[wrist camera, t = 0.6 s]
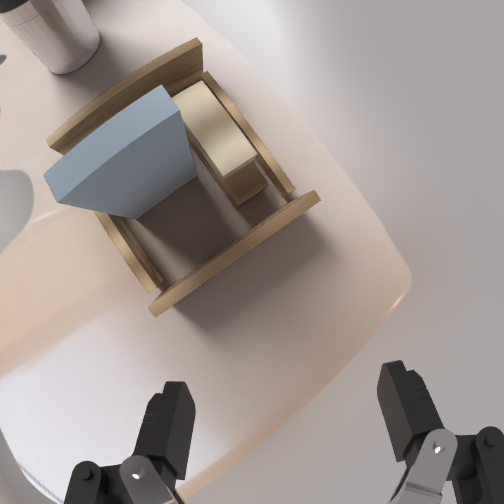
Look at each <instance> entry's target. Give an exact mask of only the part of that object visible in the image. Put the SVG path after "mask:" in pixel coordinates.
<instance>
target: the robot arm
mask: <svg viewBox="0 0 504 504" xmlns="http://www.w3.org/2000/svg"><path fill="white" fill-rule="evenodd" d="M0 18H1V19H2V20H3V21H4V22H5V23H6V24H7V25H8V26H9V27H10V28H11V29H12V31H13V32H14V33H15V34H16V35H17V36H18V37H19V38H20V39H21V40H22V41H23V42H24V43H25V45H26V46H27V47H28V48H29V49H30V50H31V51H32V52H33V53H34V54H35V55H36V56H37V57H38V58H39V60H40V61H41V62H42V63H43V64H44V65H45V66H46V67H47V68H48V69H49V70H50V71H51V72H53V73H55V74H66V73H70V72H72V71H74V70H76V69H78V68H80V67H81V66H83V65H84V64H85V63H86V62H88V60H89V59H90V58H91V57H92V56H93V55H94V53H95V52H96V50H97V48H98V46H99V42H100V36H99V33H98V31H97V29H96V27H95V25H94V23H93V21H92V19H91V17H90V15H89V14H88V12H87V10H86V8H85V6H84V4H83V2H82V0H0ZM377 395H378V400H379V403H380V406H381V410H382V413H383V416H384V419H385V423H386V426H387V430H388V432H389V436H390V440H391V443H392V446H393V450H394V454H395V457H396V461H397V462H400V461H404V460H405V462H406V466H407V467H406V469H405V471H404V473H403V475H402V477H401V479H400V481H399V483H398V485H397V487H396V489H395V490H394V492H393V494H392V496H391V498H390V500H389V501H388V503H387V504H440V502H441V499H442V494H441V491H442V488H443V485H444V483H445V481H450V480H452V484H453V488H454V492H455V496H456V501H457V504H504V435H503V433H502V432H501V430H499V429H498V428H496V427H486V428H483V429H482V430H481V431H480V432H479V433H478V434H477V435H463V436H459V435H454V434H453V433H452V432H451V431H449V430H446V429H445V428H444V426H443V424H442V422H441V419H440V417H439V415H438V412H437V410H436V408H435V405H434V403H433V401H432V399H431V397H430V394H429V392H428V390H427V389H426V385H425V383H424V381H423V379H422V377H420V375H418V374H417V373H416V372H415V371H414V370H410V371H406V368H405V366H404V364H403V362H402V361H401V360H398V361H393V362H388V363H384V364H383V365H382V369H381V373H380V377H379V381H378V386H377ZM195 413H196V410H195V404H194V401H193V399H192V396H191V394H190V392H189V389H188V387H187V385H186V383H185V382H175V381H167V382H166V383H165V386H164V389H163V393H162V394H161V393H156V394H155V395H154V396H153V397H152V398H151V400H150V401H149V402H148V405H147V408H146V412H145V415H144V418H143V423H142V425H141V428H140V432H139V435H138V439H137V442H136V446H135V449H134V452H133V454H132V456H131V457H129V458H127V459H126V460H124V461H123V463H122V464H119V465H113V466H104V467H99V466H98V465H97V464H95V463H94V462H91V461H83V462H81V463H79V464H77V465H76V466H75V468H74V469H73V472H72V475H71V479H70V482H69V486H68V489H67V493H66V497H65V501H64V504H185V502H184V500H183V499H182V497H181V496H180V494H179V493H178V491H177V490H176V488H175V483H176V479H178V480H185V475H186V468H187V462H188V456H189V450H190V444H191V438H192V432H193V426H194V420H195Z"/></svg>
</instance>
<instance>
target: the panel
mask: <svg viewBox="0 0 504 504" xmlns="http://www.w3.org/2000/svg"><path fill="white" fill-rule="evenodd" d="M43 175H44V178H45V180H46V182H47V184H48V185H49V187H50V189H51V191H52V193H53V195H54V197H55V199H56V201H57V203H61V204H66V205H71V206H75V207H80V208H84V209H89V210H94V211H98V212H103V213H108V214H112V215H117V216H121V217H126V218H130V219H135V220H137V219H138V218H139V217H141V216H142V215H143V214H145V213H146V212H147V211H149V210H150V209H151V208H153V207H154V206H155V205H157V204H158V203H160V202H161V201H162V200H164V199H165V198H166V197H168V196H169V195H171V194H172V193H173V192H175V191H176V190H178V189H179V188H181V187H182V186H183V185H185V184H186V183H188V182H189V181H191V180H192V179H193V178H195V177H196V176H197V173H196V169H195V165H194V162H193V158H192V154H191V150H190V147H189V143H188V139H187V135H186V131H185V127H184V123H183V120H182V116H181V112H180V109H179V108H178V106H177V105H176V104H175V102H174V101H173V100H172V98H171V97H170V95H169V94H168V93H167V91H166V90H165V89H164V87H163V86H162V85H160V86H158V87H156V88H155V89H153V90H152V91H150V92H149V93H147V94H145V95H144V96H142V97H141V98H139V99H138V100H136V101H135V102H133V103H132V104H130V105H129V106H127V107H126V108H125V109H123V110H122V111H120V112H119V113H117V114H116V115H115V116H113V117H112V118H111V119H109V120H108V121H107V122H105V123H104V124H103V125H101V126H100V127H99V128H97V129H96V130H95V131H93V132H92V133H91V134H90V135H88V136H87V137H86V138H85V139H83V140H82V141H81V142H80V143H78V144H77V145H76V146H75V147H74V148H72V149H71V150H70V151H69V152H68V153H67V154H65V155H64V156H63V157H62V158H61V159H60V160H59V161H58V162H56V163H55V164H54V165H53V166H52V167H51V168H50V169H49V170H48V171H47V172H45V173H44V174H43Z"/></svg>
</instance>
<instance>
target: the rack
mask: <svg viewBox="0 0 504 504" xmlns="http://www.w3.org/2000/svg"><path fill="white" fill-rule="evenodd" d="M199 79H201V80H202V81H203V82H204V84H205V85H206V86H207V87H208V89H209V90H210V91H211V93H212V94H213V95H214V96H215V98H216V99H217V100H218V102H219V103H220V104H221V105H222V107H223V108H224V109H225V111H226V112H227V113H228V115H229V116H230V117H231V119H232V120H233V121H234V123H235V124H236V125H237V127H238V128H239V129H240V131H241V132H242V133H243V135H244V136H245V137H246V139H247V140H248V141H249V143H250V144H251V145H252V147H253V148H254V150H255V151H256V152H257V156H256V160H257V161H258V163H259V164H260V165H261V167H262V168H263V170H264V171H265V172H266V174H267V175H268V177H269V178H270V179H271V181H272V182H273V184H274V185H275V187H276V188H277V190H278V191H279V192H280V194H281V195H282V197H283V196H285V195H287V194H289V193H290V192H292V191H293V190H295V188H294V186H293V185H292V183H291V182H290V180H289V179H288V177H287V176H286V175H285V173H284V172H283V170H282V169H281V167H280V166H279V165H278V163H277V162H276V160H275V159H274V158H273V156H272V155H271V153H270V152H269V151H268V149H267V148H266V146H265V145H264V144H263V142H262V141H261V140H260V138H259V137H258V136H257V134H256V133H255V132H254V130H253V129H252V127H251V126H250V125H249V123H248V122H247V121H246V120H245V118H244V117H243V116H242V114H241V113H240V112H239V110H238V109H237V108H236V106H235V105H234V104H233V103H232V101H231V100H230V99H229V97H228V96H227V95H226V94H225V92H224V91H223V90H222V89H221V87H220V86H219V85H218V84H217V82H216V81H215V80H214V79H213V77H212V76H211V75H210V74H209V72H208V71H206V72H204V73H203V55H202V43H201V42H200V41H199V40H198V38H197V37H196V38H194V39H192V40H190V41H188V42H186V43H184V44H182V45H180V46H178V47H176V48H175V49H173V50H171V51H169V52H167V53H165V54H164V55H162V56H160V57H158V58H157V59H155V60H153V61H152V62H150V63H148V64H147V65H145V66H143V67H142V68H140V69H138V70H137V71H135V72H134V73H132V74H130V75H129V76H127V77H126V78H124V79H123V80H121V81H120V82H118V83H117V84H115V85H114V86H113V87H111V88H110V89H108V90H107V91H105V92H104V93H103V94H101V95H100V96H98V97H97V98H96V99H94V100H93V101H92V102H90V103H89V104H88V105H86V106H85V107H84V108H83V109H81V110H80V111H79V112H77V113H76V114H75V115H74V116H72V117H71V118H70V119H69V120H68V121H66V122H65V123H64V124H63V125H62V126H60V127H59V128H58V129H57V130H56V131H55V132H54V133H52V134H51V135H50V136H49V137H48V138H47V139H46V141H47V143H48V145H49V147H50V148H52V149H53V150H55V151H57V152H59V153H61V154H63V155H65V154H67V153H68V152H69V151H70V150H71V149H72V148H74V147H75V146H76V145H77V144H78V143H80V142H81V141H82V140H83V139H85V138H86V137H87V136H88V135H90V134H91V133H92V132H93V131H95V130H96V129H97V128H99V127H100V126H101V125H103V124H104V123H105V122H107V121H108V120H109V119H111V118H112V117H113V116H115V115H116V114H117V113H119V112H120V111H122V110H123V109H125V108H126V107H127V106H129V105H130V104H132V103H133V102H135V101H136V100H138V99H139V98H141V97H142V96H144V95H145V94H147V93H149V92H150V91H152V90H153V89H155V88H156V87H158V86H160V85H162V86H163V87H164V89H165V90H166V91H167V93H168V94H169V95H170V96H171V95H173V94H175V93H176V92H178V91H180V90H181V89H183V88H185V87H187V86H188V85H190V84H192V83H193V82H195V81H197V80H199ZM319 201H321V199H320V198H319V196H318V195H317V193H316V192H315V190H313V191H311V192H309V193H306V194H304V195H302V196H300V197H298V198H295V199H293V200H292V201H291V202H289V203H288V204H286V205H285V206H283V207H282V208H280V209H279V210H278V211H276V212H275V213H273V214H272V215H270V216H269V217H268V218H266V219H265V220H263V221H262V222H260V223H259V224H257V225H256V226H255V227H253V228H252V229H250V230H249V231H247V232H246V233H245V234H243V235H242V236H240V237H239V238H238V239H236V240H235V241H233V242H232V243H230V244H229V245H228V246H226V247H225V248H223V249H222V250H221V251H219V252H218V253H216V254H215V255H214V256H212V257H211V258H209V259H208V260H207V261H205V262H204V263H202V264H201V265H200V266H198V267H197V268H195V269H194V270H193V271H191V272H190V273H188V274H187V275H186V276H184V277H183V278H181V279H180V280H179V281H177V282H176V283H174V284H173V285H172V286H170V287H169V288H168V289H166V290H165V291H163V292H162V293H161V294H160V295H159V296H158V297H157V298H156V299H155V300H154V302H153V303H152V304H151V305H150V306H149V307H148V309H149V310H150V311H151V313H152V314H153V315H154V317H155V318H156V317H157V316H159V315H160V314H161V313H163V312H164V311H166V310H167V309H168V308H170V307H171V306H173V305H174V304H175V303H177V302H178V301H180V300H181V299H183V298H184V297H185V296H187V295H188V294H190V293H191V292H192V291H194V290H195V289H197V288H198V287H199V286H201V285H202V284H204V283H205V282H206V281H208V280H209V279H211V278H212V277H213V276H215V275H216V274H218V273H219V272H220V271H222V270H223V269H225V268H226V267H228V266H229V265H230V264H232V263H233V262H235V261H236V260H237V259H239V258H240V257H242V256H243V255H244V254H246V253H247V252H249V251H250V250H251V249H253V248H254V247H256V246H257V245H258V244H260V243H261V242H263V241H264V240H266V239H267V238H268V237H270V236H271V235H273V234H274V233H275V232H277V231H278V230H280V229H281V228H282V227H284V226H285V225H287V224H288V223H290V222H291V221H292V220H294V219H295V218H297V217H298V216H299V215H301V214H302V213H304V212H305V211H306V210H308V209H309V208H311V207H312V206H314V205H315V204H316V203H318V202H319ZM93 211H94V210H93ZM94 213H95V215H96V216H97V218H98V220H99V221H100V223H101V224H102V226H103V228H104V229H105V231H106V232H107V234H108V236H109V237H110V239H111V240H112V242H113V243H114V245H115V246H116V248H117V249H118V251H119V252H120V254H121V256H122V257H123V259H124V260H125V261H126V263H127V264H128V266H129V267H130V269H131V270H132V272H133V273H134V275H135V276H136V278H137V279H138V280H139V282H140V283H141V285H142V286H143V287H144V289H145V290H146V292H147V293H150V292H151V291H152V290H154V289H155V288H156V287H158V286H159V285H160V284H161V283H162V282H163V281H164V280H163V278H162V277H161V275H160V274H159V273H158V271H157V270H156V268H155V267H154V265H153V264H152V263H151V261H150V260H149V258H148V257H147V255H146V254H145V252H144V251H143V249H142V248H141V246H140V245H139V244H138V242H137V241H136V239H135V238H134V236H133V235H132V233H131V231H130V230H129V228H128V227H127V225H126V224H125V222H124V221H123V219H122V218H121V216H117V215H112V214H108V213H103V212H98V211H94Z"/></svg>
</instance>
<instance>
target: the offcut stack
mask: <svg viewBox="0 0 504 504" xmlns="http://www.w3.org/2000/svg"><path fill="white" fill-rule="evenodd" d="M172 100H173V101H174V102H175V104H176V105H177V106H178V108H179V109H180V112H181V116H182V120H183V123H184V127H185V131H186V135H187V139H188V142H189V143H190V144H191V146H192V147H193V149H194V150H195V151H196V153H197V154H198V156H199V157H200V159H201V160H202V161H203V163H204V164H205V166H206V167H207V168H208V170H209V171H210V173H211V174H212V176H213V177H214V178H215V180H216V181H217V183H218V184H219V185H220V187H221V188H222V190H223V191H224V193H225V194H226V195H227V197H228V198H229V200H230V201H231V203H232V204H233V205H234V207H235V208H238V207H239V206H241V205H242V204H243V203H245V202H246V201H248V200H249V199H251V198H252V197H254V196H255V195H257V194H258V193H260V192H261V191H263V190H264V189H265V188H266V187H267V186H268V185H269V184H268V183H267V181H266V180H265V178H264V177H263V175H262V174H261V173H260V171H259V170H258V168H257V167H256V166H255V164H254V163H253V161H254V160H255V158H256V156H257V152H256V151H255V150H254V148H253V147H252V145H251V144H250V143H249V141H248V140H247V139H246V137H245V136H244V135H243V133H242V132H241V131H240V129H239V128H238V127H237V125H236V124H235V123H234V121H233V120H232V119H231V117H230V116H229V115H228V113H227V112H226V111H225V109H224V108H223V107H222V105H221V104H220V103H219V102H218V100H217V99H216V98H215V96H214V95H213V94H212V93H211V91H210V90H209V89H208V87H207V86H206V85H205V84H204V82H203V81H202V80H201V81H200V82H198V83H196V84H194V85H193V86H191V87H189V88H187V89H186V90H184V91H182V92H181V93H179V94H177V95H176V96H174V97H172Z"/></svg>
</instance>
